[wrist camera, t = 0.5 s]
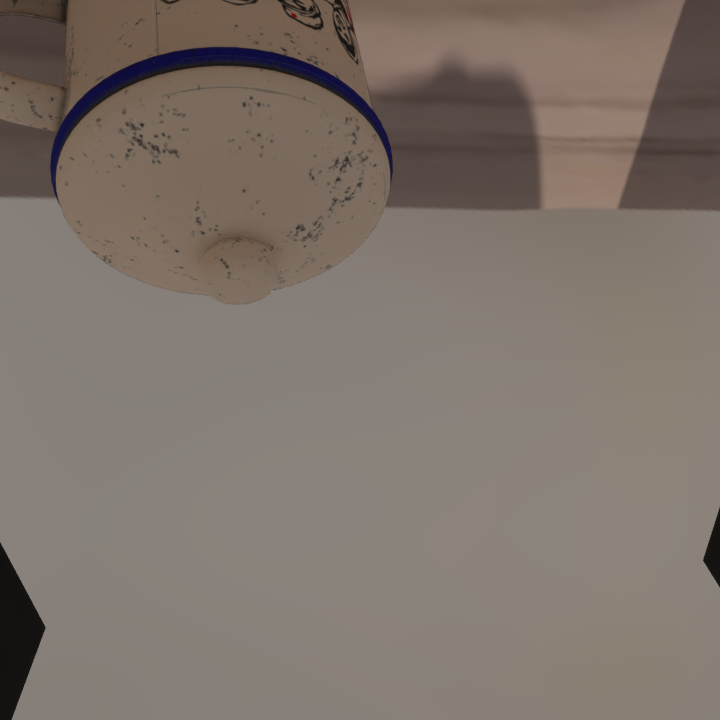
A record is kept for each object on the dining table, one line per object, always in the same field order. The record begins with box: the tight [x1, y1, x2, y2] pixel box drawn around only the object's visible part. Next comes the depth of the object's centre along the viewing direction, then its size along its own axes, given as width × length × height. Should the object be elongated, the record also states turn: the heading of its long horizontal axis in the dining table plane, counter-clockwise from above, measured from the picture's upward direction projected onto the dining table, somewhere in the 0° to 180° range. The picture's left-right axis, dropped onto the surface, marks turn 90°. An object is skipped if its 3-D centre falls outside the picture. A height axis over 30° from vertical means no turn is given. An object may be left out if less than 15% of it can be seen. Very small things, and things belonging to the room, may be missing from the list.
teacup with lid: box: [0, 0, 393, 304], centre depth 19 cm, size 12×9×12 cm
